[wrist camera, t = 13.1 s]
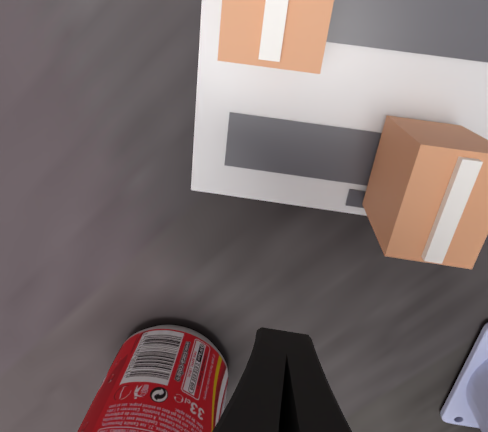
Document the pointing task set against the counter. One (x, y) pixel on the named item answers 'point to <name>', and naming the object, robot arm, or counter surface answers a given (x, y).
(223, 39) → the tab near
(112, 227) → the counter surface
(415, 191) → the tab far
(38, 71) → the counter surface
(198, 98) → the switch bank
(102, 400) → the soda can
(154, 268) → the counter surface
